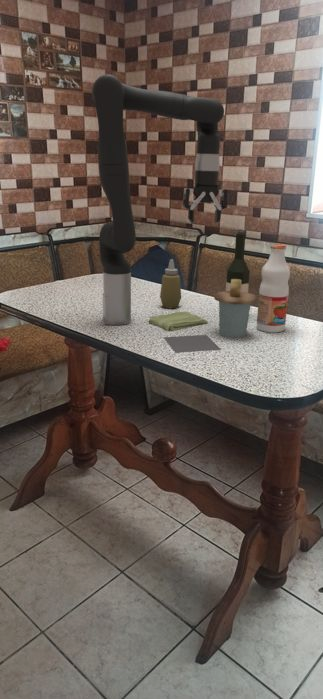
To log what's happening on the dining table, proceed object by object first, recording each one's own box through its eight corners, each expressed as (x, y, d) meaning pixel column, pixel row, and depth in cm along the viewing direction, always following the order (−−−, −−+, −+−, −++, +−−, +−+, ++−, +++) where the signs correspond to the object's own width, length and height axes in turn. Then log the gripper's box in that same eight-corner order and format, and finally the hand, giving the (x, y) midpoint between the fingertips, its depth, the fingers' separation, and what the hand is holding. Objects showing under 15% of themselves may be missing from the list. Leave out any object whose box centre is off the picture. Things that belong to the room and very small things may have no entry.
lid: (222, 305, 158) (224, 285, 155) (208, 294, 169) (209, 276, 167) (262, 303, 161) (264, 283, 159) (245, 293, 172) (247, 275, 170)
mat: (175, 354, 151) (175, 352, 151) (163, 339, 164) (163, 337, 164) (221, 351, 154) (221, 349, 154) (206, 336, 167) (206, 334, 167)
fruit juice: (261, 323, 182) (268, 241, 173) (288, 327, 178) (297, 244, 168) (252, 330, 174) (259, 245, 165) (279, 334, 170) (288, 248, 161)
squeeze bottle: (181, 304, 204) (183, 258, 198) (180, 309, 196) (181, 261, 190) (160, 303, 204) (161, 257, 198) (158, 308, 197) (159, 261, 191)
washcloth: (209, 325, 179) (210, 316, 178) (169, 334, 169) (169, 325, 168) (185, 317, 189) (185, 308, 188) (145, 324, 179) (145, 315, 178)
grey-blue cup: (213, 338, 166) (216, 301, 162) (220, 328, 175) (222, 293, 171) (246, 341, 163) (249, 304, 159) (250, 332, 172) (253, 296, 168)
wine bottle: (220, 316, 189) (225, 231, 178) (228, 311, 196) (233, 229, 185) (242, 320, 185) (248, 233, 175) (249, 314, 192) (256, 231, 182)
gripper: (188, 169, 161) (186, 223, 166) (232, 170, 164) (228, 223, 170) (182, 168, 168) (180, 220, 173) (224, 169, 171) (221, 221, 176)
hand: (204, 222), depth 171 cm, fingers open, 8 cm apart
